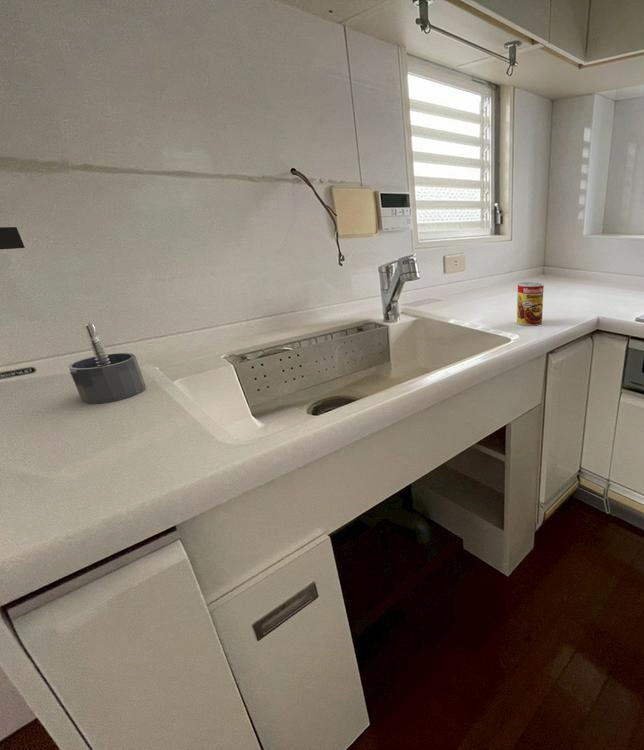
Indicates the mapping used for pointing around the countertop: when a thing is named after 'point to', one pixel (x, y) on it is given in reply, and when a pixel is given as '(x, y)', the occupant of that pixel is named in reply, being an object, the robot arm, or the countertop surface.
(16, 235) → the robot arm
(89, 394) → the steel cup
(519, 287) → the canned food
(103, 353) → the screw
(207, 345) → the countertop surface
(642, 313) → the countertop surface
